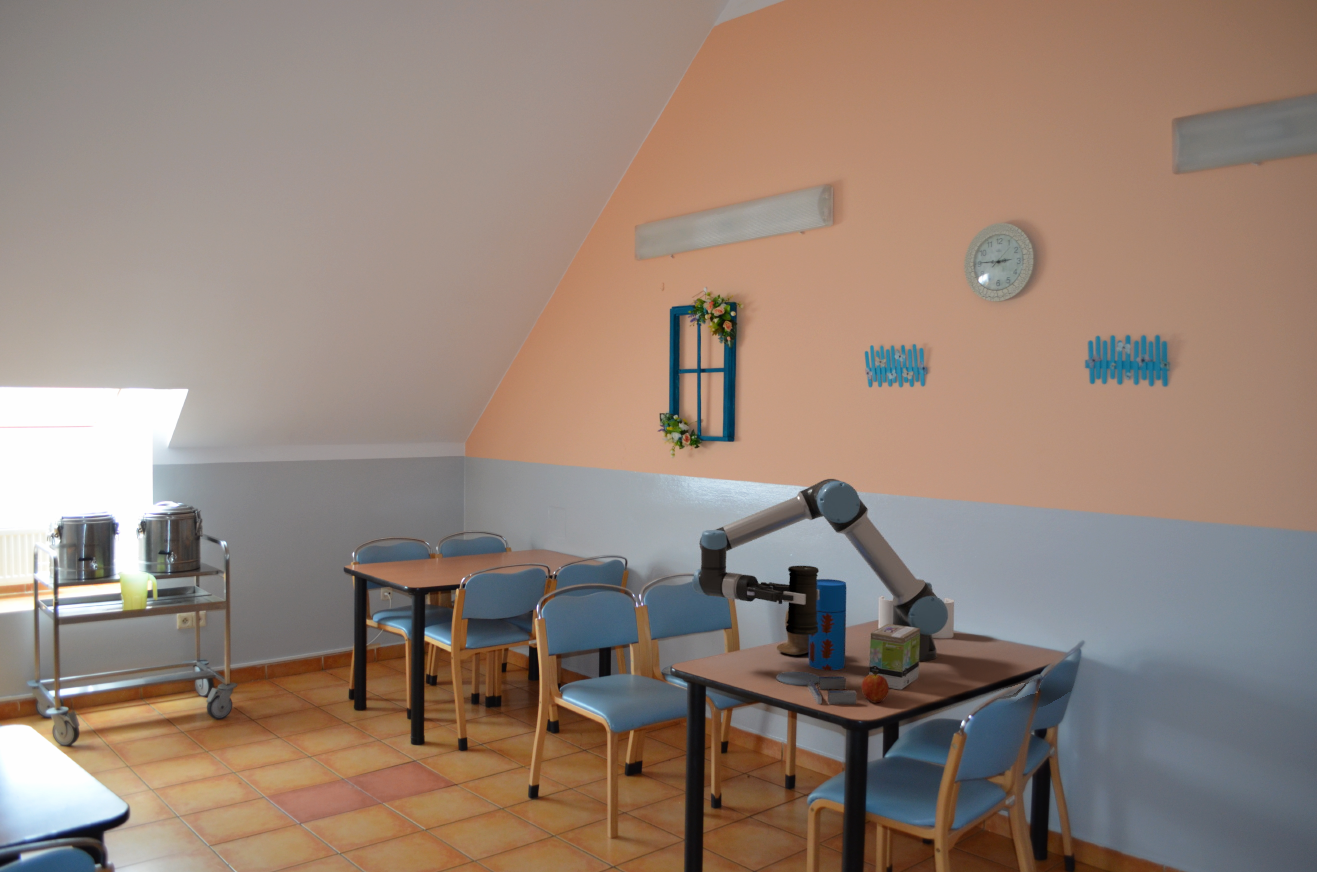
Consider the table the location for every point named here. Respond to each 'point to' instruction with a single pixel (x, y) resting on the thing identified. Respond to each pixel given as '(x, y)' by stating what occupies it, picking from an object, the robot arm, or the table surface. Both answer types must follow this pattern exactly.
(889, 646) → the tea box
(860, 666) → the table surface
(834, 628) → the thermos
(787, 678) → the mat
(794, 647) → the stone cup
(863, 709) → the table surface
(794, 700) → the table surface
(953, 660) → the table surface
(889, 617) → the bracket
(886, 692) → the fruit
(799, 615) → the container
